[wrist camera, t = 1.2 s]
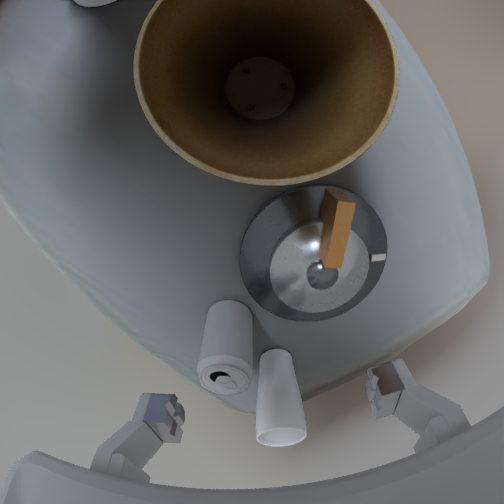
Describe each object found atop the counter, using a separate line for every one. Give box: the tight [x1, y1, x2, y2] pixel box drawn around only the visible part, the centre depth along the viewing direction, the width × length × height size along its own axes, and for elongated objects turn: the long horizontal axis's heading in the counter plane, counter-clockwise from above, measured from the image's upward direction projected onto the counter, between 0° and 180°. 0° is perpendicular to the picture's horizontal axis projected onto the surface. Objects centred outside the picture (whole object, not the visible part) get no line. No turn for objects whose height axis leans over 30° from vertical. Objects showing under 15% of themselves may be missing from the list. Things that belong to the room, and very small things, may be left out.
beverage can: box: [197, 300, 253, 395], centre depth 34 cm, size 6×6×12 cm
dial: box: [269, 188, 369, 313], centre depth 30 cm, size 16×12×5 cm
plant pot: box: [133, 0, 400, 186], centre depth 18 cm, size 15×15×16 cm
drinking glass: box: [255, 349, 307, 447], centre depth 37 cm, size 7×7×15 cm
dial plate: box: [240, 184, 387, 321], centre depth 34 cm, size 19×19×2 cm
